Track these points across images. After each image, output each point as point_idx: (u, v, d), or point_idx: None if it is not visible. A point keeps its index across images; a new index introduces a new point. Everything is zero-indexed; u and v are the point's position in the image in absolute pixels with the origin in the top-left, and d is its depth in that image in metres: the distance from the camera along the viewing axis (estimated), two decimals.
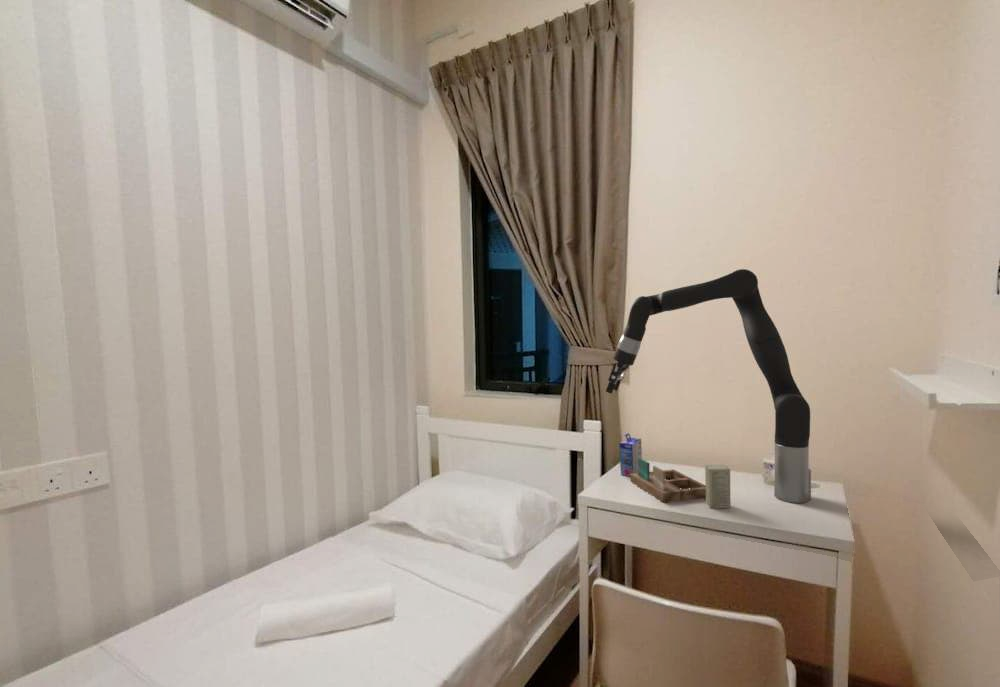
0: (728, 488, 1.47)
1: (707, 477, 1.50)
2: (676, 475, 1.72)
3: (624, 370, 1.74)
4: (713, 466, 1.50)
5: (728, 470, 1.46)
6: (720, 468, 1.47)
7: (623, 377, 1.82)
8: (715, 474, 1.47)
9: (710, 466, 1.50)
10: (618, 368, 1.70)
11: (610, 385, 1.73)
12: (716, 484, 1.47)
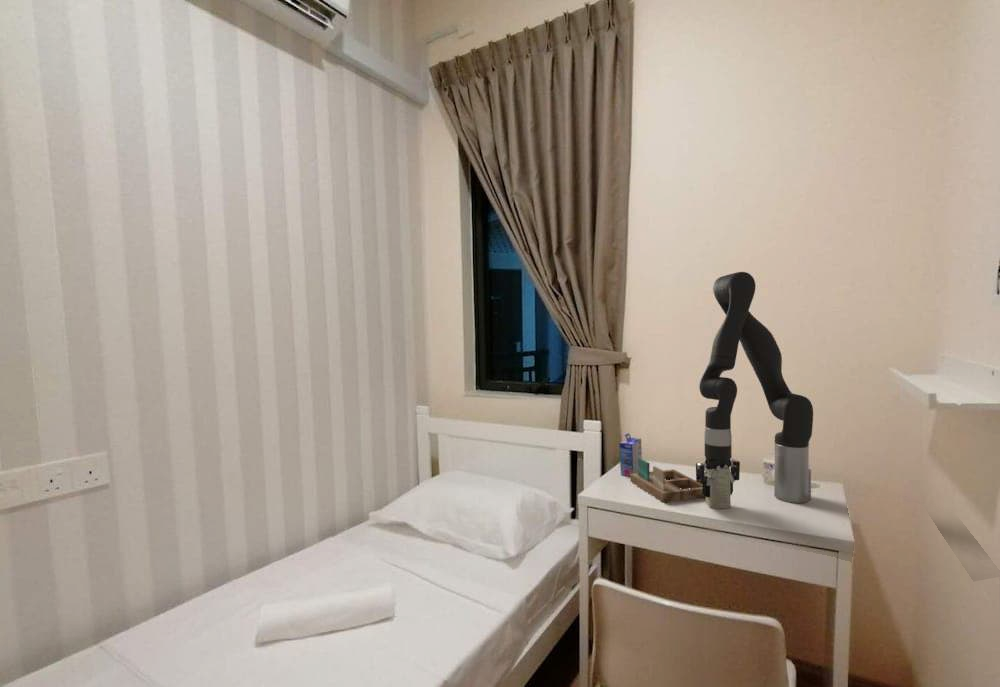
0: (728, 488, 1.47)
1: None
2: (676, 475, 1.72)
3: (717, 467, 1.47)
4: None
5: (728, 470, 1.46)
6: (720, 468, 1.47)
7: (737, 478, 1.49)
8: None
9: None
10: (699, 466, 1.47)
11: (703, 487, 1.48)
12: (716, 484, 1.47)
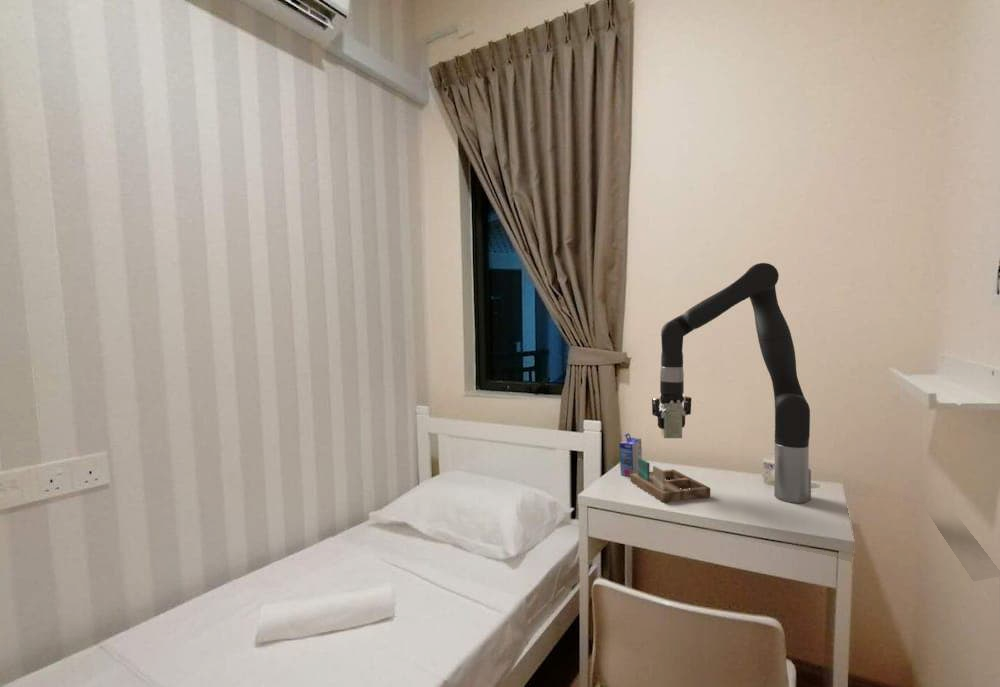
0: (680, 420, 1.64)
1: None
2: (676, 475, 1.72)
3: (670, 401, 1.64)
4: None
5: (680, 404, 1.64)
6: (673, 403, 1.65)
7: (688, 412, 1.67)
8: None
9: None
10: (655, 400, 1.64)
11: (658, 420, 1.66)
12: (669, 417, 1.65)
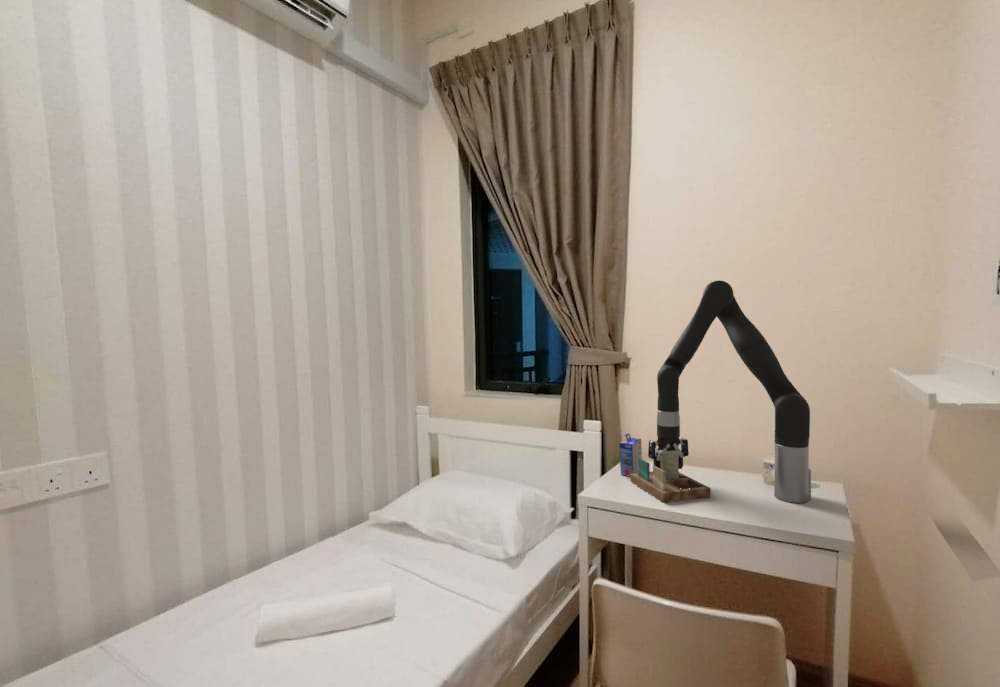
0: (676, 468, 1.67)
1: None
2: None
3: (667, 445, 1.67)
4: None
5: (676, 452, 1.67)
6: (669, 451, 1.67)
7: (686, 454, 1.70)
8: (665, 456, 1.67)
9: None
10: (651, 443, 1.67)
11: (654, 462, 1.68)
12: (666, 465, 1.67)
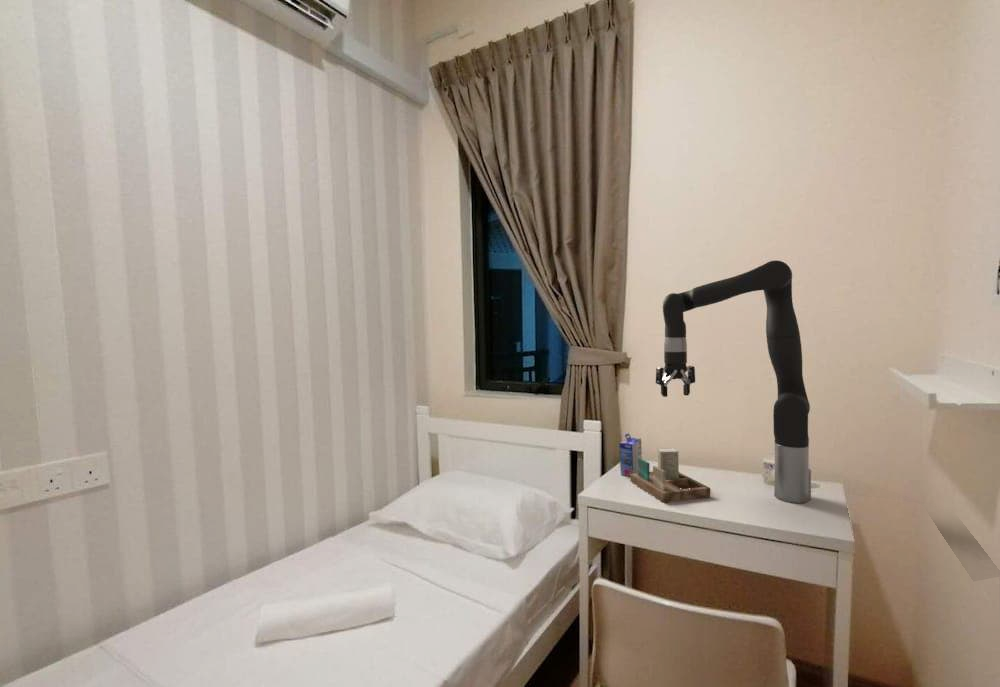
0: (676, 468, 1.67)
1: (658, 459, 1.70)
2: None
3: (674, 370, 1.70)
4: (664, 449, 1.70)
5: (676, 452, 1.67)
6: (669, 451, 1.67)
7: (693, 381, 1.73)
8: (665, 456, 1.67)
9: (661, 449, 1.70)
10: (659, 369, 1.70)
11: (662, 388, 1.71)
12: (666, 465, 1.67)
